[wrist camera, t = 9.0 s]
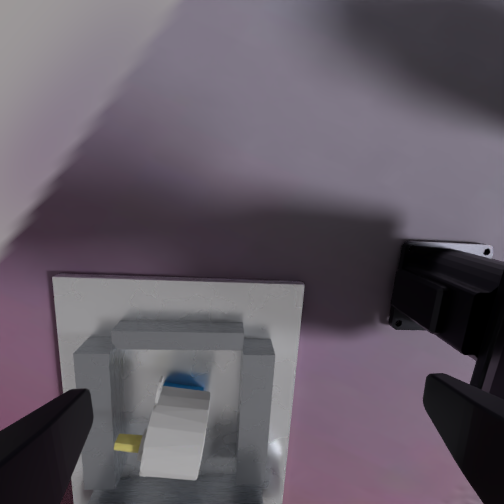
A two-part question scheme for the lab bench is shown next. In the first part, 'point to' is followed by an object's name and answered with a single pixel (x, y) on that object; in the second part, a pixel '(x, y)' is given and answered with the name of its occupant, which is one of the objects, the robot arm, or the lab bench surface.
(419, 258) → the robot arm
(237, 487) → the grey metal assembly fixture
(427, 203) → the lab bench surface
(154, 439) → the electric motor
